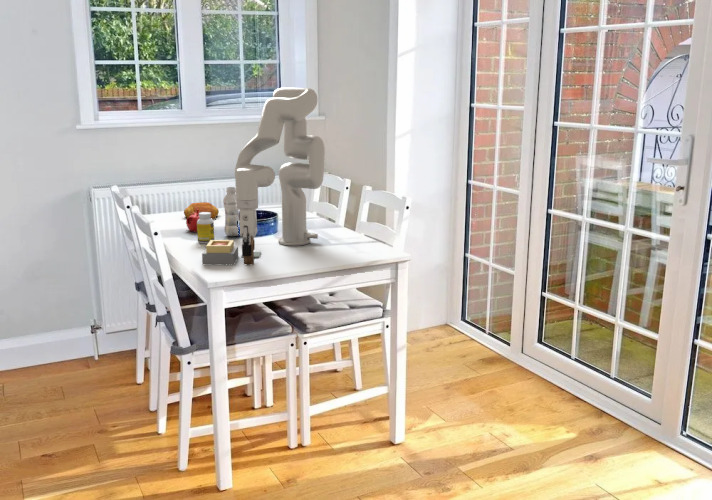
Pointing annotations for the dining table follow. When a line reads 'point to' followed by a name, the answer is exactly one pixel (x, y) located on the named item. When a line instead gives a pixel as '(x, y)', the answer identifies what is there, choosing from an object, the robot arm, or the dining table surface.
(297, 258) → the dining table surface
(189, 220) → the pomegranate
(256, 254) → the coaster
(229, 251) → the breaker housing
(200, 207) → the croissant
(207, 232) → the pill bottle
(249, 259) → the brown wooden tall bar
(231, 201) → the plastic bottle
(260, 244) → the dining table surface
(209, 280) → the dining table surface
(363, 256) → the dining table surface
